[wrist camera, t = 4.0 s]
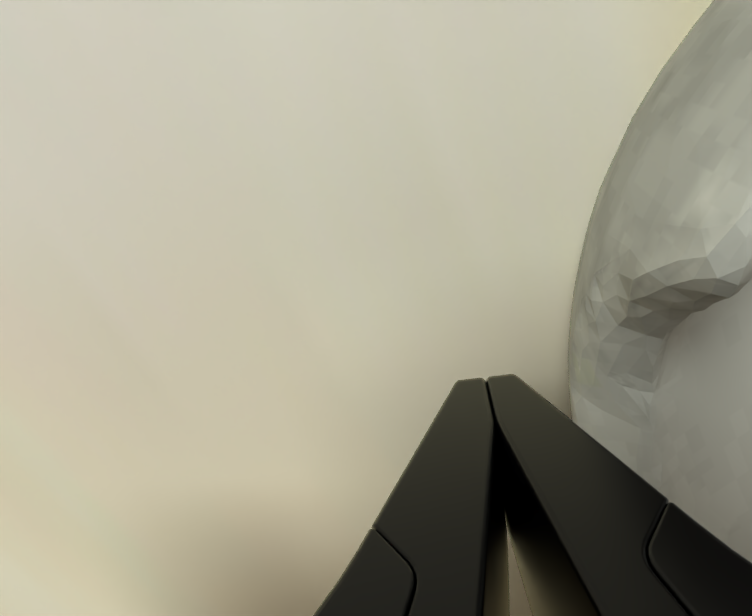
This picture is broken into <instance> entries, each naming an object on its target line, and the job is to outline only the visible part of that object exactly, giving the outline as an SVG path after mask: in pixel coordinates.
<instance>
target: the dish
mask: <svg viewBox="0 0 752 616" xmlns="http://www.w3.org/2000/svg"><path fill="white" fill-rule="evenodd" d="M568 372H569V395H570V405H571V414H572V421H573V422H574V423H575V424H577V425H578V426H579V427H580V428H582V429H583V430H584V431H585V432H586V433H588V434H589V435H590V436H591V437H593V438H594V439H595V440H596V441H598V442H599V443H600V444H601V445H602V446H604V447H605V448H606V449H607V450H609V451H610V452H611V453H612V454H614V455H615V456H616V457H617V458H618V459H620V460H621V461H622V462H623V463H625V464H626V465H627V466H628V467H630V468H631V469H632V470H633V471H634V472H636V473H637V474H638V475H639V476H641V477H642V478H643V479H644V480H646V481H647V482H648V483H649V484H650V485H652V486H653V487H654V488H655V489H657V490H658V491H659V492H660V493H662V494H663V495H664V496H665V497H666V498H668V500H669V503H670V502H672V503H674V504H675V505H677V506H678V507H679V508H680V509H682V510H683V511H684V512H685V513H687V514H688V515H689V516H690V517H691V518H693V519H694V520H695V521H696V522H698V523H699V524H700V525H702V526H703V527H704V528H706V529H707V530H708V531H709V532H711V533H712V534H713V535H715V536H716V537H717V538H719V539H720V540H721V541H722V542H724V543H725V544H726V545H728V546H729V547H730V548H732V549H733V550H734V551H736V552H737V553H739V554H740V555H741V556H743V557H744V558H746V559H747V560H749V561H750V562H752V0H714V1H713V2H712V3H711V5H710V6H709V7H708V8H707V10H706V11H705V12H704V13H703V15H702V16H701V17H700V18H699V20H698V21H697V22H696V23H695V25H694V26H693V27H692V29H691V30H690V31H689V33H688V34H687V36H686V37H685V38H684V40H683V41H682V42H681V44H680V45H679V46H678V48H677V49H676V51H675V52H674V53H673V55H672V56H671V57H670V59H669V60H668V62H667V63H666V64H665V66H664V67H663V68H662V70H661V71H660V73H659V75H658V76H657V78H656V80H655V81H654V83H653V85H652V86H651V88H650V90H649V91H648V93H647V94H646V96H645V98H644V99H643V101H642V103H641V104H640V106H639V108H638V109H637V111H636V113H635V114H634V116H633V118H632V120H631V122H630V124H629V126H628V128H627V131H626V133H625V135H624V137H623V139H622V141H621V143H620V146H619V148H618V150H617V152H616V154H615V156H614V159H613V161H612V163H611V165H610V167H609V169H608V171H607V174H606V176H605V178H604V181H603V183H602V185H601V188H600V190H599V193H598V196H597V199H596V203H595V206H594V209H593V212H592V215H591V218H590V221H589V225H588V229H587V232H586V236H585V240H584V245H583V249H582V254H581V258H580V263H579V267H578V273H577V278H576V283H575V288H574V294H573V302H572V310H571V320H570V332H569V350H568Z"/></svg>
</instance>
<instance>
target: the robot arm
mask: <svg viewBox="0 0 752 616" xmlns="http://www.w3.org/2000/svg"><path fill="white" fill-rule="evenodd" d="M505 517H506V520H505ZM506 522H507V527H508V532H509V536H510V540H511V544H512V547H513V551H514V554H515V557H516V561H517V564H518V567H519V571H520V574H521V577H522V581H523V584H524V588H525V591H526V594H527V598H528V601H529V604H530V608H531V611H532V614H533V616H752V562H750V561H749V560H747V559H746V558H744V557H743V556H741V555H740V554H739V553H737V552H736V551H734V550H733V549H732V548H730V547H729V546H728V545H726V544H725V543H724V542H722V541H721V540H720V539H719V538H717V537H716V536H715V535H713V534H712V533H711V532H709V531H708V530H707V529H706V528H704V527H703V526H702V525H700V524H699V523H698V522H696V521H695V520H694V519H693V518H691V517H690V516H689V515H688V514H687V513H685V512H684V511H683V510H682V509H680V508H679V507H678V506H677V505H675V504H674V503H672V502H670V503H669V500H668V498H666V497H665V496H664V495H663V494H662V493H660V492H659V491H658V490H657V489H655V488H654V487H653V486H652V485H650V484H649V483H648V482H647V481H646V480H644V479H643V478H642V477H641V476H639V475H638V474H637V473H636V472H634V471H633V470H632V469H631V468H630V467H628V466H627V465H626V464H625V463H623V462H622V461H621V460H620V459H618V458H617V457H616V456H615V455H614V454H612V453H611V452H610V451H609V450H607V449H606V448H605V447H604V446H602V445H601V444H600V443H599V442H598V441H596V440H595V439H594V438H593V437H591V436H590V435H589V434H588V433H586V432H585V431H584V430H583V429H582V428H580V427H579V426H578V425H577V424H575V423H574V422H573V421H572V420H570V419H569V418H568V417H567V416H566V415H564V414H563V413H562V412H561V411H559V410H558V409H557V408H556V407H554V406H553V405H552V404H551V403H550V402H548V401H547V400H546V399H545V398H543V397H542V396H541V395H540V394H538V393H537V392H536V391H535V390H534V389H532V388H531V387H530V386H529V385H527V384H526V383H525V382H524V381H522V380H521V379H520V378H519V377H518V376H516V375H514V374H509V375H500V376H492V377H489V378H488V379H487V380H486V381H485V380H484V379H482V378H475V379H466V380H459V381H457V382H456V383H455V384H454V386H453V388H452V390H451V391H450V393H449V395H448V397H447V398H446V400H445V402H444V403H443V405H442V407H441V409H440V410H439V412H438V414H437V415H436V417H435V419H434V421H433V422H432V424H431V426H430V427H429V429H428V431H427V433H426V434H425V436H424V438H423V439H422V441H421V443H420V445H419V446H418V448H417V450H416V451H415V453H414V455H413V457H412V458H411V460H410V462H409V463H408V465H407V467H406V469H405V470H404V472H403V474H402V476H401V477H400V479H399V481H398V482H397V484H396V486H395V488H394V489H393V491H392V493H391V494H390V496H389V498H388V500H387V501H386V503H385V505H384V506H383V508H382V510H381V512H380V513H379V515H378V517H377V518H376V520H375V522H374V524H373V525H372V529H370V530H369V532H368V533H367V535H366V537H365V538H364V540H363V542H362V544H361V545H360V547H359V549H358V551H357V552H356V554H355V555H354V557H353V559H352V560H351V562H350V563H349V565H348V567H347V568H346V570H345V571H344V573H343V574H342V576H341V578H340V579H339V581H338V582H337V584H336V585H335V586H334V588H333V589H332V590H331V592H330V593H329V595H328V596H327V597H326V599H325V600H324V601H323V603H322V604H321V606H320V607H319V608H318V610H317V611H316V613H315V614H314V615H313V616H510V608H509V572H508V543H507V529H506Z"/></svg>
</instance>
